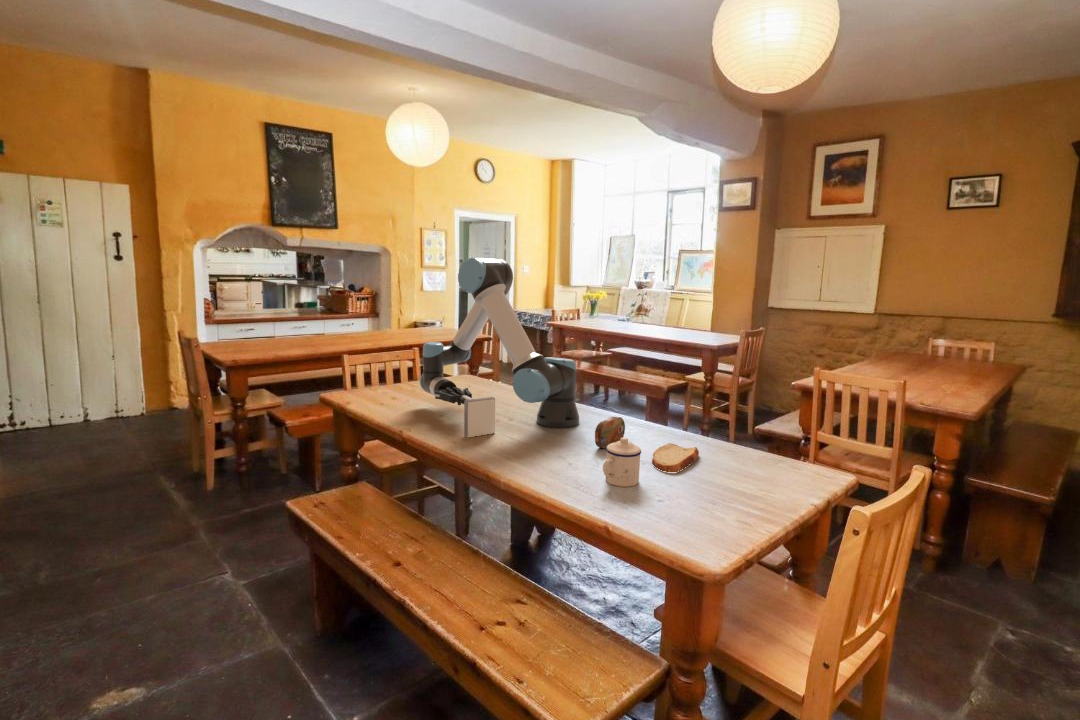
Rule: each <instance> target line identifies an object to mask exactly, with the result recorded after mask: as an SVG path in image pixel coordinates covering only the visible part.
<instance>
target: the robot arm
mask: <svg viewBox="0 0 1080 720" xmlns="http://www.w3.org/2000/svg"><path fill="white" fill-rule="evenodd" d="M513 281H514V273H513V270H512V267H511V265H510V264H509V263H508V262H507V261H506V260H504V259H502V258H500V257H479V256H475V257H469V258H467V259H465V260H464V261H463V262H462V263H461V265H460V267H459V269H458V274H457V282H458V285H459V287H460V288H461V290H462V291H464V292H466V293H467V294H471V296H472V297H473V299H474V303H473V305H472V306H471V309H470V310H469V312H468V313H467V315H466V317H465V319H464V321H463V322H462V323H461V325H460V327H459V329H458V331H457V332H456V334H455V335H454V337H453V338H452V341H450V344H448V345H444V344H443V343H442V342H439V341H438V342H437V341H428V342H425V343H424V344H423V346H422V374H421V376H420V378H419V381H418V382H419V386H420V388H421V389H422V390H424V392H426V393H428V394H431V395H432V396H434V398H435V399H436V400H441V401H442V402H443V401H444V402H447V403H450V404H457V406H462V405H464V400H471V399H473V394H472V392H471V391H470V390H469V388H468V387H465V388H463V389H462V388H460V387H458V386H457V385H456V384H455V383H454V382H453V381H452V380H449V379H448V378H445V377H444V366H446V367H447V366H450V365H456V364H462V363H463V362H467V361H468V360H469V359H471V355H472V354H471V353H472V349H471V348H472V346H473V345H474V343H475V341H476V340H477V338H478V337H479V335H480V333H481V331H482V330H483V328H484V327H485V326H486V324H487V322H488V321H489V320H490V323H491V324H492V326H493V329H494V330H495V332H496V334H497V336H498V338H499V340H500V342H501V344H502V345H503V347H504V349H505V352H506V353H507V355H508V357H509V359H510V361H511V363H512V364H513V365H512V367H511V368H512V369H511V372H512V374H513V378H512V381H513V382H512V388H513V391H514V393H515V395H516V396H517V398H518V399H520V400H522V401H523V402H524V403H525V402H526V403H528V404H535V403H540V405H539V408H538V411H537V414H536V422H537V424H539V425H541V426H542V427H543V426H544V427H547V428H555V429H556V428H557V429H558V428H560V429H565V428H572V427H576V426H578V425H579V423H580V414H579V411H578V407H577V403H576V387H577V386H576V385H577V384H576V382H577V373H578V370H577V362H576V360H574V359H571V358H570V359H569V358H562V357H551V356H548V357H547V356H546V357H544V355H543V354H540V353H537V351H536V350H535V348H534V346H533V344H532V343H531V340H530V338H529V337H528V334H527V333H526V331H525V329H524V328H523V327H524V326H522V324H521V322H520V320H519V318H518V316H517V314H516V313H515V310H514V309H513V307H512V305H511V303H510V301H509V299H508V297H507V295H508V294H509V292H510V290H511V287H512V285H513Z"/></svg>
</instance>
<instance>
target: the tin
mask: <svg viewBox="0 0 1080 720" xmlns="http://www.w3.org/2000/svg"><path fill="white" fill-rule="evenodd" d="M625 432H626V424H625V421H624V418H623V417H620V416H612V417H609V418H607V419H604V420H602V421H599V423H598V424H597V426H596V427H595V430H594V442H595V445H596V447H598V448H600V449H605V450H606V448H607V446H608V445H609V444H611V443H615V442H618V441H620V439H621V438H624V435H625Z"/></svg>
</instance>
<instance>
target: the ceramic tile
mask: <svg viewBox="0 0 1080 720" xmlns="http://www.w3.org/2000/svg"><path fill="white" fill-rule="evenodd" d="M463 405H464V408H463V409H464V410H463V411H464V415H463V417H464V421H463V424H464V436H465V438H466V439H469V437H471V438H476V437H475V436H477V437H482V436H481V435H483V436H488V435H487V434H489V435H493V433H496V432H495V431H496V430H495V428H496V426H495V425H496V424H495V423H496V421H495V420H496V418H495V417H496V398H495V397H493V396H488V397H481V398H480V397H478V398H472V399H471V400H464V404H463Z"/></svg>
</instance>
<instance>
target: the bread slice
mask: <svg viewBox="0 0 1080 720" xmlns="http://www.w3.org/2000/svg"><path fill="white" fill-rule="evenodd" d="M699 454H700V452H699V449H698V447H696V446H694V447H683V446H679V445H677V444H674V443H667V444H664V445H663V446H659V447H658V448H657V449H656V450H655V451H654V452H653V455H652V456H653V458H652V459H651V465H652V464H653V465H654V466H655V467H656V468H658V469H660V470H662V471H666V472H678V471H680V470H682V469H684V468H685V467H687V466H688V465H689V464H691V463H692V464H693V463H695V461H696V460H697V459H698V456H699ZM692 464H691V465H692ZM653 465H652V466H653ZM654 466H653V467H654ZM689 466H690V465H689ZM689 466H688V467H689ZM655 467H654V468H655ZM688 467H687V468H688ZM656 468H655V469H656ZM658 469H657V470H658ZM684 470H685V469H684ZM678 473H679V472H678Z"/></svg>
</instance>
